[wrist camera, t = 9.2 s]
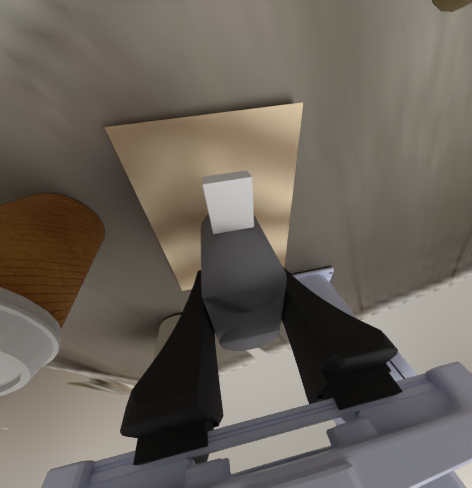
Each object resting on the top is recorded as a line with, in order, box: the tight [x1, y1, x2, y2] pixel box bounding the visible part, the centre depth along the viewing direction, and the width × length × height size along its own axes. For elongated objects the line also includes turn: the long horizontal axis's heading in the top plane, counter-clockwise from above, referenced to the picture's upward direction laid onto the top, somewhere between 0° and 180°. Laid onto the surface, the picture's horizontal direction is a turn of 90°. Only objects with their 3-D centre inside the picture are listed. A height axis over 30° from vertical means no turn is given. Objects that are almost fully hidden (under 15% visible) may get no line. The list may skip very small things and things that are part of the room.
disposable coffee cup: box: [0, 193, 105, 396], centre depth 12 cm, size 10×10×12 cm
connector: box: [200, 170, 287, 351], centre depth 11 cm, size 11×4×5 cm, turn 6°
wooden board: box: [104, 103, 303, 291], centre depth 18 cm, size 18×14×2 cm
